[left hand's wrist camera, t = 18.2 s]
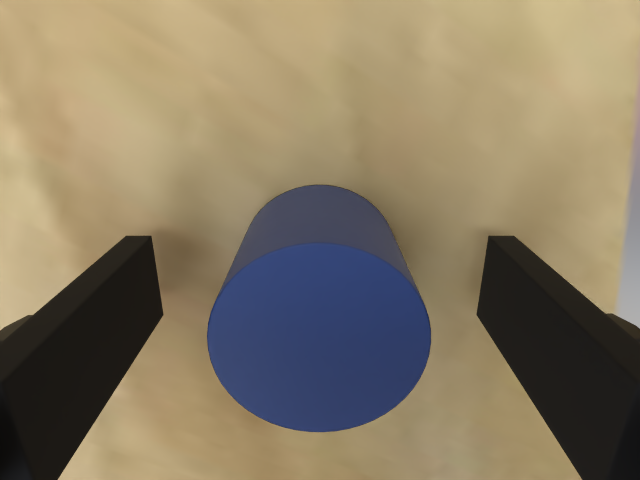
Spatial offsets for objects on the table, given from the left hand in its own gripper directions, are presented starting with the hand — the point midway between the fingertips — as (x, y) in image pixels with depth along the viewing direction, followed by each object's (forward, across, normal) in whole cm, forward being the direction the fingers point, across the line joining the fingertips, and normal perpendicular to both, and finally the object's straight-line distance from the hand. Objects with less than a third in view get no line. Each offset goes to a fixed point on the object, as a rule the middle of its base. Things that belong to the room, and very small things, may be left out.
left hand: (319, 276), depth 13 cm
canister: (+1, 0, 0) cm, 1 cm away
